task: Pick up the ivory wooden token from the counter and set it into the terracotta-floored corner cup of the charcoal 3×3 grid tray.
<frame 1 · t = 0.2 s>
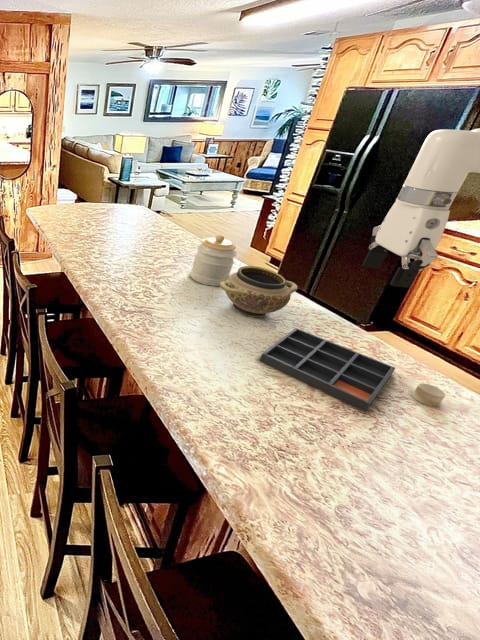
hand: (384, 276, 83), 28 cm above the countertop, tool pointing down, fingers open, 9 cm apart
token: (425, 399, 90), on the countertop
grid: (323, 367, 100), on the countertop
jar: (208, 279, 147), on the countertop
ceramic bowl: (248, 310, 126), on the countertop
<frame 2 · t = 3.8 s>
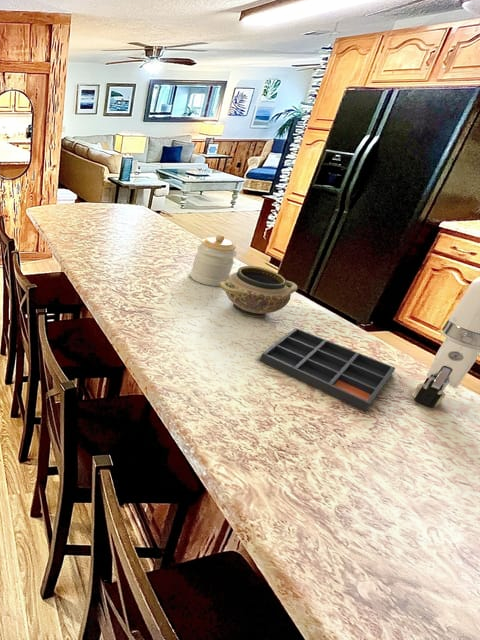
hand: (426, 398, 90), 0 cm above the countertop, tool pointing down, fingers closed on token, 4 cm apart
token: (425, 399, 90), on the countertop, touching gripper
everything else where it was.
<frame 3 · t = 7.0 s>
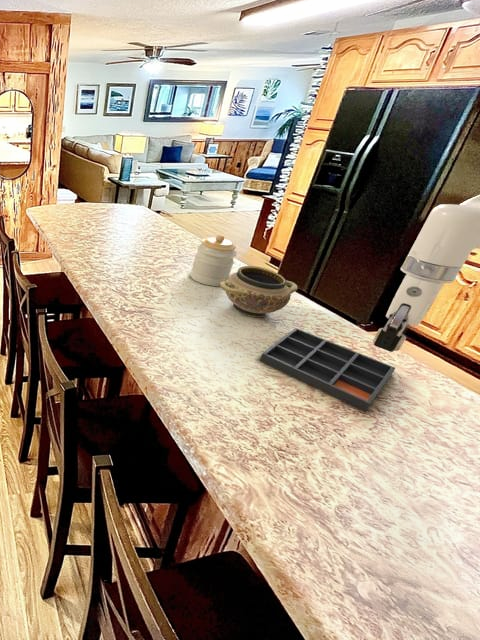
hand: (386, 343, 84), 15 cm above the countertop, tool pointing down, fingers closed on token, 4 cm apart
token: (385, 344, 84), point 14 cm above the countertop, touching gripper
everything else where it was.
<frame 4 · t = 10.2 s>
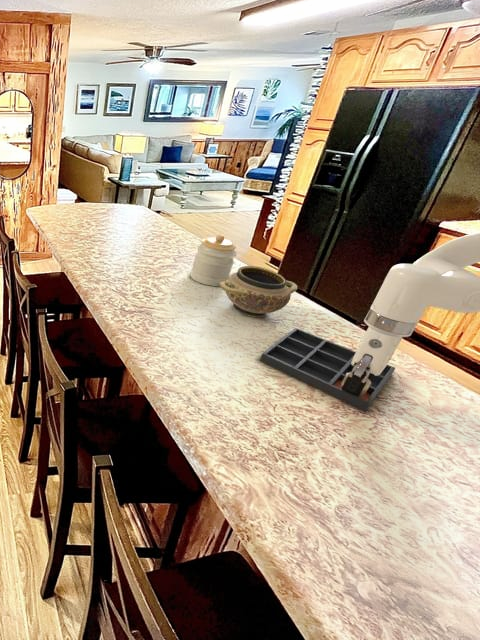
hand: (353, 387, 90), 2 cm above the countertop, tool pointing down, fingers closed on token, 4 cm apart
token: (353, 388, 90), point 2 cm above the countertop, touching gripper
everything else where it was.
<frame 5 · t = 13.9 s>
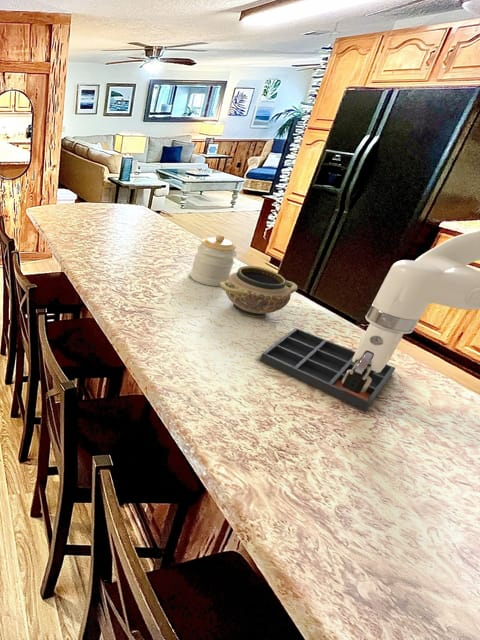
hand: (354, 384, 89), 3 cm above the countertop, tool pointing down, fingers closed on token, 4 cm apart
token: (353, 385, 89), point 3 cm above the countertop, touching gripper
everything else where it was.
when the fingers open (4 cm above the countertop, at t = 17.7 s): token drops 3 cm, resting on grid.
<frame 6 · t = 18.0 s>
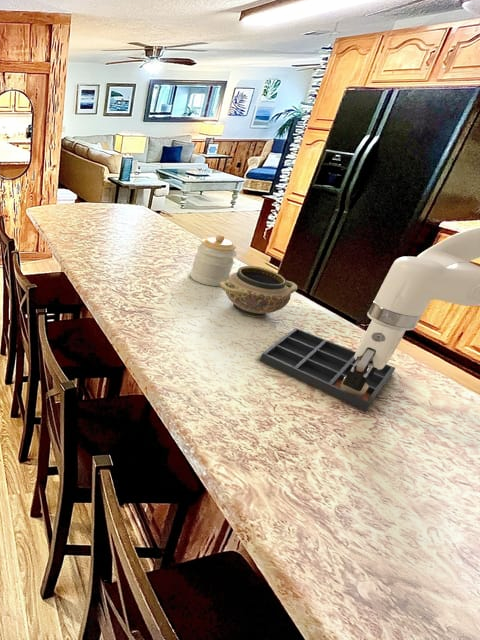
hand: (357, 380, 89), 4 cm above the countertop, tool pointing down, fingers open, 7 cm apart
token: (350, 392, 90), point 1 cm above the countertop, touching grid
everything else where it was.
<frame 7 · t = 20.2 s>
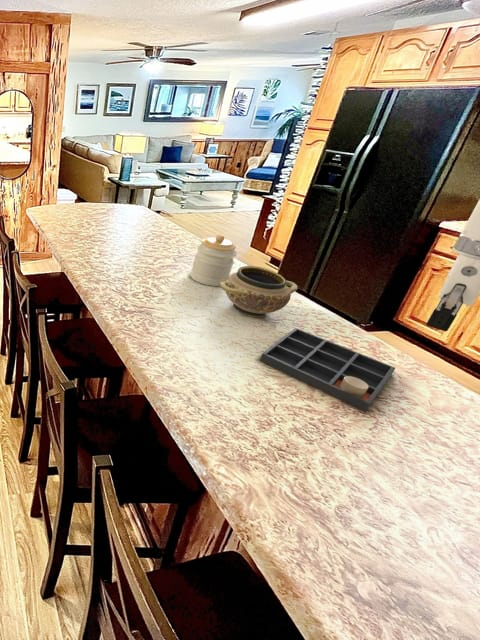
hand: (440, 320, 84), 19 cm above the countertop, tool pointing down, fingers open, 9 cm apart
nothing on the countertop moved.
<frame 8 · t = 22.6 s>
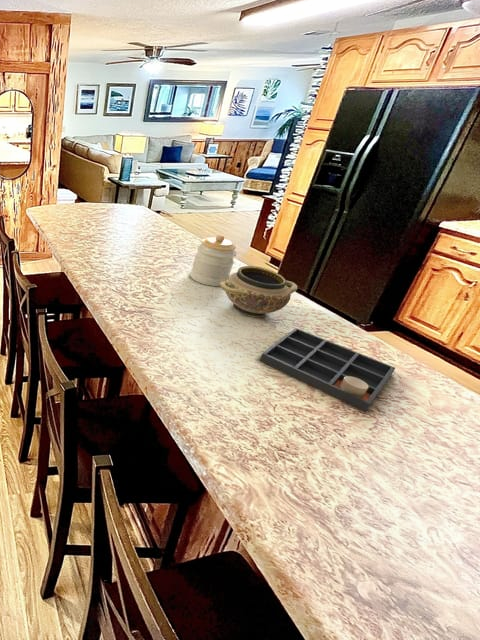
nothing on the countertop moved.
at the end: token 0.0 cm from the target spot in the grid, point 0.8 cm above the grid's base; token tilted 0°; the gripper is holding nothing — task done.
